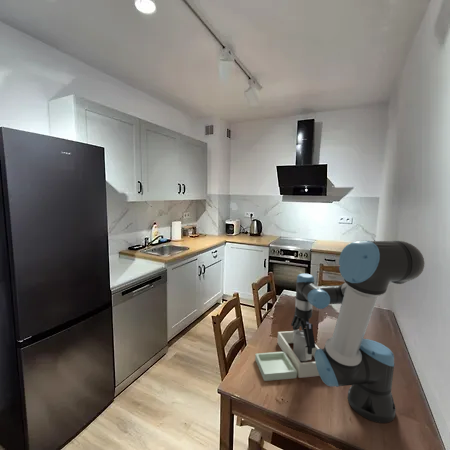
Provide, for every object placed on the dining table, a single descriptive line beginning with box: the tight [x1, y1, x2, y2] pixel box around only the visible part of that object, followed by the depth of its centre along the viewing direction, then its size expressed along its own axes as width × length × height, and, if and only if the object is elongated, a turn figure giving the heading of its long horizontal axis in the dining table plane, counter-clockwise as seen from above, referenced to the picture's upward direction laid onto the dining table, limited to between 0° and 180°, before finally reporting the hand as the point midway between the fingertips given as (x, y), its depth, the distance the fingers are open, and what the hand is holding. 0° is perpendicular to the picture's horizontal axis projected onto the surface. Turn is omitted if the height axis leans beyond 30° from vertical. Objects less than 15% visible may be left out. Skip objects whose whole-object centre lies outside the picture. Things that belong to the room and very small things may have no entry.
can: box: [292, 329, 308, 362], centre depth 122 cm, size 8×8×12 cm
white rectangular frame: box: [277, 329, 320, 378], centre depth 122 cm, size 26×14×6 cm, turn 8°
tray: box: [254, 351, 298, 382], centre depth 114 cm, size 14×14×3 cm
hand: (301, 350), depth 122 cm, fingers open, 13 cm apart
